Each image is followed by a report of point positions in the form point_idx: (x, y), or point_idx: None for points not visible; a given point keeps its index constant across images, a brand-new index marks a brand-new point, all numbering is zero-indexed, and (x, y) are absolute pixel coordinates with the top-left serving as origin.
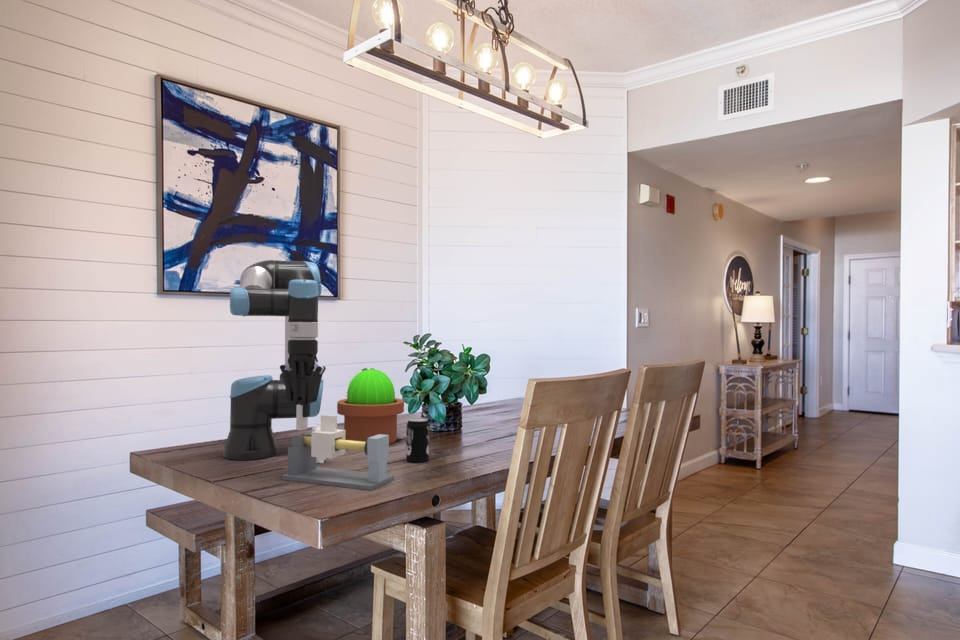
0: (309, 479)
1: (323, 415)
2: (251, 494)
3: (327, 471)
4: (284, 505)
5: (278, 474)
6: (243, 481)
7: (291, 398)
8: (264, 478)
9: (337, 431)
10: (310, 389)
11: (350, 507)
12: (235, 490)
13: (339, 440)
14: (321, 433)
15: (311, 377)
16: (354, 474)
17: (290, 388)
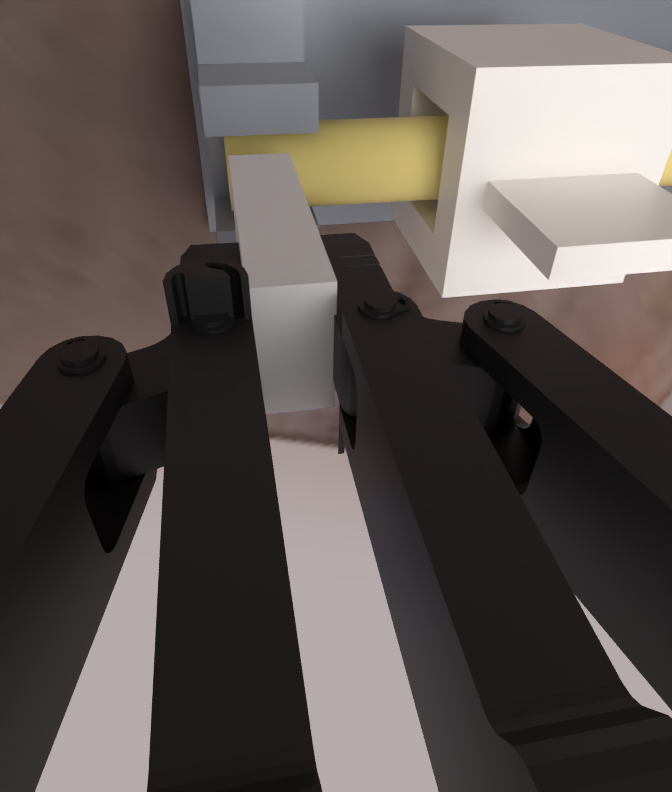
0: (386, 218)
1: (581, 275)
2: (271, 428)
3: (396, 24)
4: None
5: (93, 138)
6: (68, 329)
7: (152, 479)
8: (105, 245)
9: (642, 172)
10: (571, 568)
11: (657, 380)
12: None
13: None
14: (531, 287)
15: (649, 725)
16: (589, 19)
17: (87, 621)
